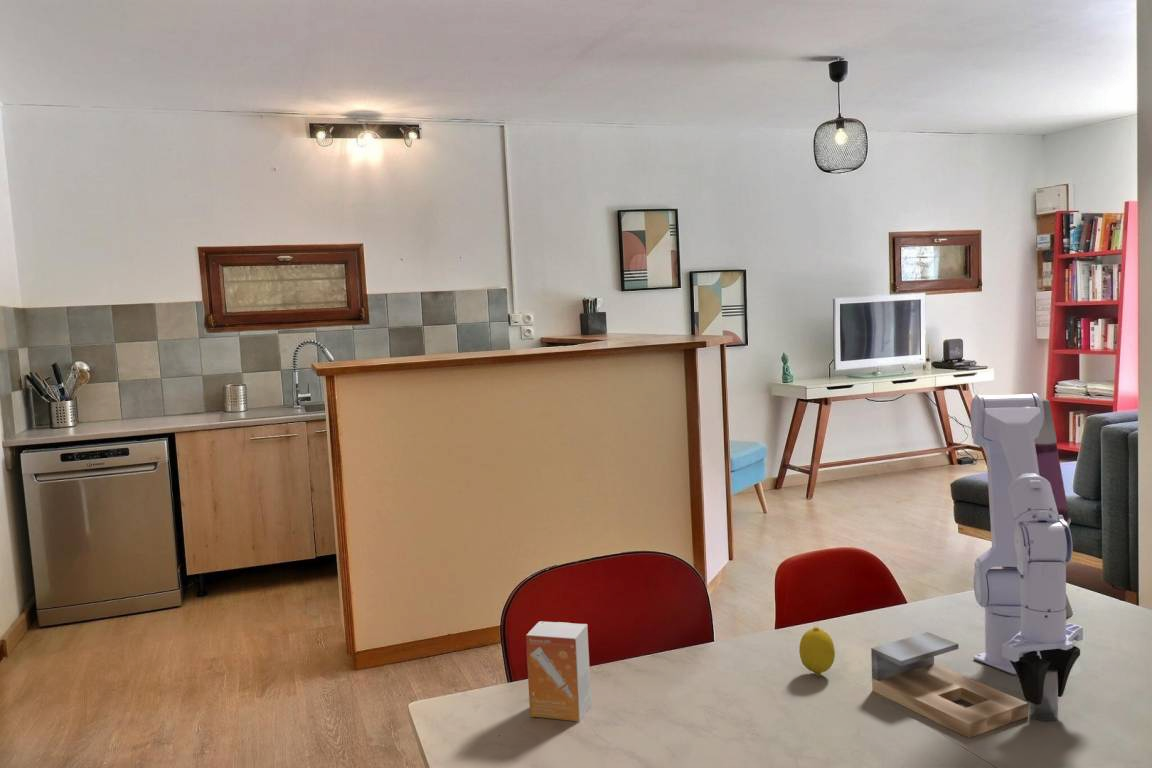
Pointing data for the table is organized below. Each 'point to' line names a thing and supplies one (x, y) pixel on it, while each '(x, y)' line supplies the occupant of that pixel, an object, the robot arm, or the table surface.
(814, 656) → the lemon
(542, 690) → the small box
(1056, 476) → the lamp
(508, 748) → the table surface
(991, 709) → the socket board
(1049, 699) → the peg
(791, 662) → the table surface
